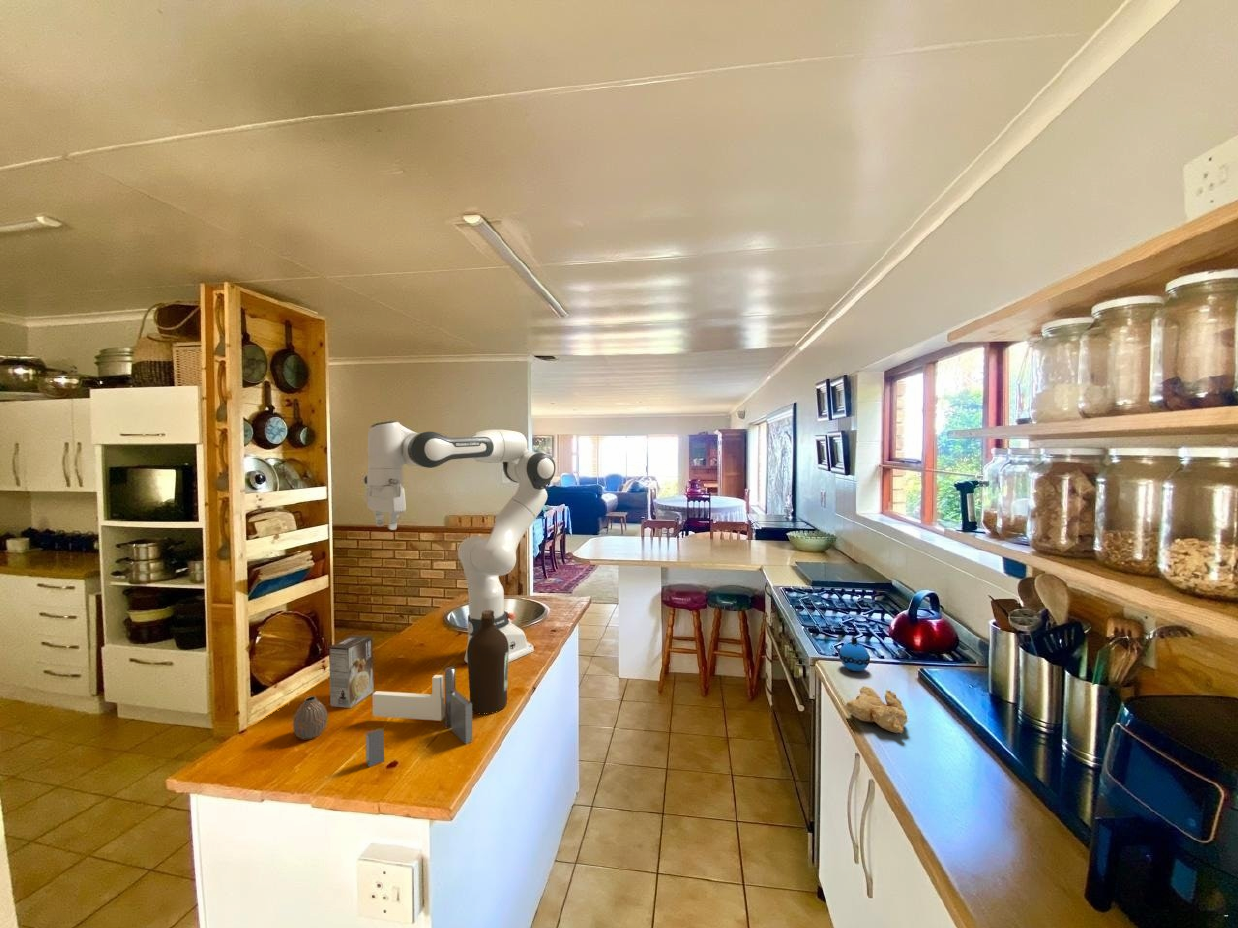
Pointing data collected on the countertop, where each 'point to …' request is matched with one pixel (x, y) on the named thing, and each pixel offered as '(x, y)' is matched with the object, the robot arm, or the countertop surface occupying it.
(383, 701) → the gate
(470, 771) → the countertop surface
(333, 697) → the coffee box
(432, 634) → the countertop surface
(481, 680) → the olive oil
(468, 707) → the gate posts
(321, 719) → the vase
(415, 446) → the robot arm
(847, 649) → the ornament
